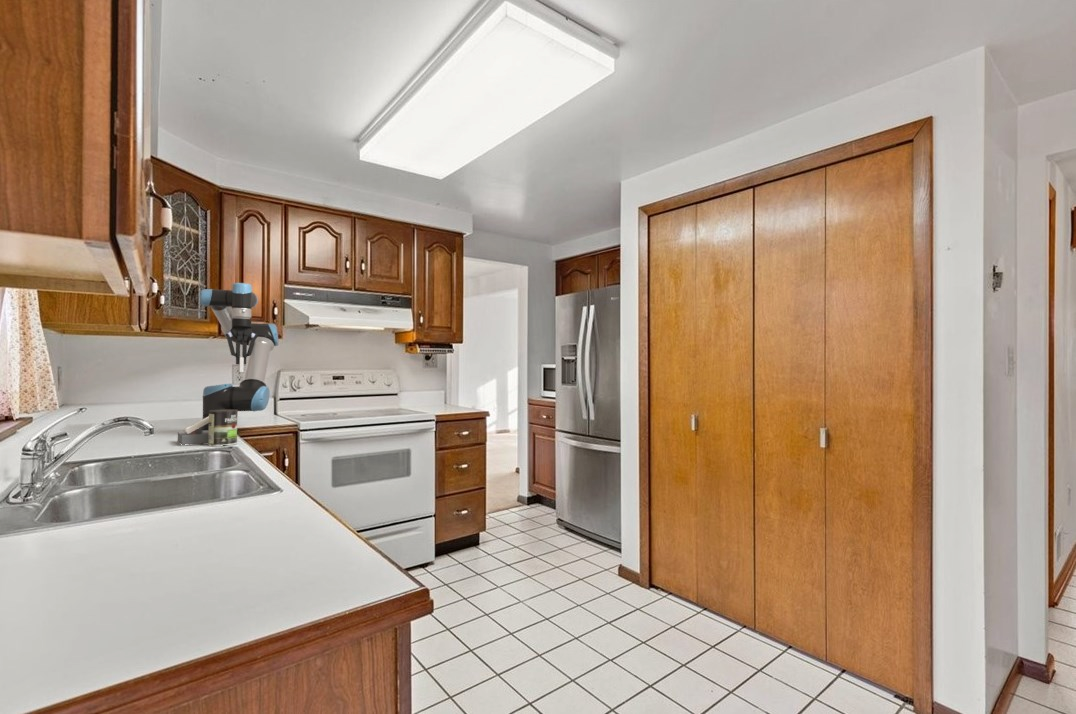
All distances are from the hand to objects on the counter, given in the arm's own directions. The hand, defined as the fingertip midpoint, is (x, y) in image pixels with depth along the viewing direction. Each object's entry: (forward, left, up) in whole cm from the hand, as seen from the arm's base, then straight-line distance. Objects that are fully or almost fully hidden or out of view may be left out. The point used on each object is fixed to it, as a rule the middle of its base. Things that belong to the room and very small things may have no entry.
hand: (240, 371), depth 230 cm
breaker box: (0, -16, -29) cm, 33 cm away
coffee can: (+13, -9, -30) cm, 34 cm away
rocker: (+3, -16, -22) cm, 27 cm away
